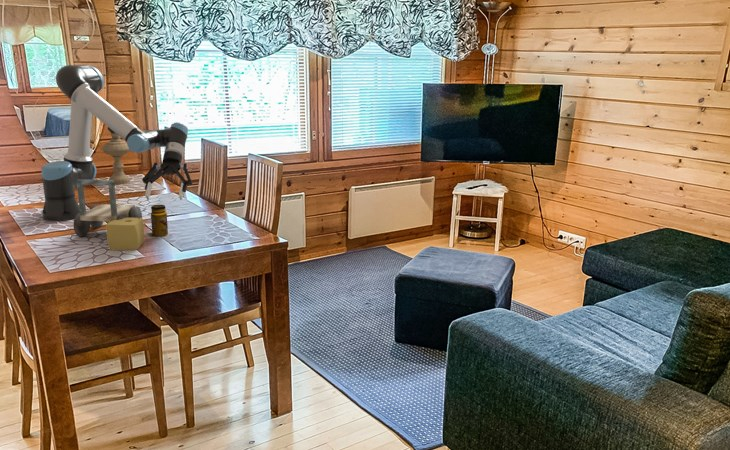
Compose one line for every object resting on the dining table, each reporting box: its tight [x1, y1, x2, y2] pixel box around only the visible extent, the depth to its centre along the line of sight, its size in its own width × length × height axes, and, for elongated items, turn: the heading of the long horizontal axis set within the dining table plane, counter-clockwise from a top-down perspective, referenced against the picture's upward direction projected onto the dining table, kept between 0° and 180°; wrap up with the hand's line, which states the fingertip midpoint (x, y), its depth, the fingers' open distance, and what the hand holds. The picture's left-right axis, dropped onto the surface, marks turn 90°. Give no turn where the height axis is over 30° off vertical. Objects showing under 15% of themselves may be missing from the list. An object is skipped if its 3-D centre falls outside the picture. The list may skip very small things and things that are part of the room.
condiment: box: [144, 204, 172, 240], centre depth 227 cm, size 7×8×12 cm
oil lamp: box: [101, 126, 131, 185], centre depth 314 cm, size 15×15×40 cm
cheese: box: [105, 217, 145, 251], centre depth 213 cm, size 10×11×10 cm
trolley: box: [73, 179, 143, 237], centre depth 228 cm, size 18×21×23 cm
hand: (163, 197), depth 233 cm, fingers open, 13 cm apart
